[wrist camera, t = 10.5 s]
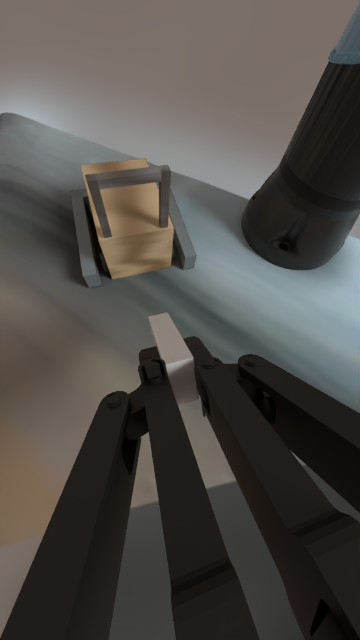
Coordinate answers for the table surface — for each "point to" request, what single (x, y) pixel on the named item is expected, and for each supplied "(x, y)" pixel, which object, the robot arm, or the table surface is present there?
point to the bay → (87, 245)
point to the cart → (131, 215)
